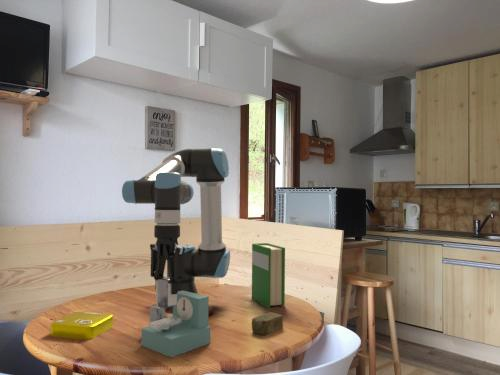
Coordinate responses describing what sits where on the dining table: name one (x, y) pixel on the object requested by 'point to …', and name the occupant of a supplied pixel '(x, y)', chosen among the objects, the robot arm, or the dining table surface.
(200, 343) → the scale body
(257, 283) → the hardback book
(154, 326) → the platform
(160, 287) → the cylinder
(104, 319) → the element tile
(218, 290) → the dining table surface
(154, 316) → the cylinder
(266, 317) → the stone block
